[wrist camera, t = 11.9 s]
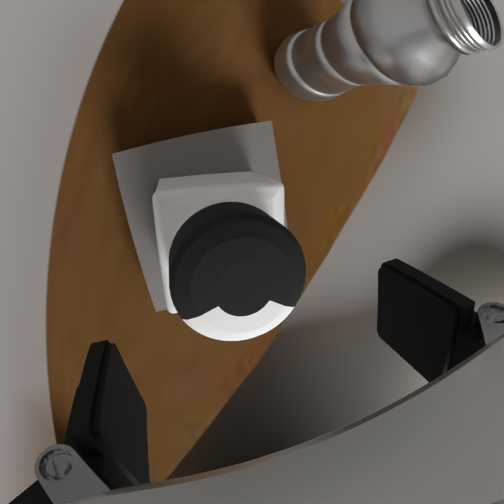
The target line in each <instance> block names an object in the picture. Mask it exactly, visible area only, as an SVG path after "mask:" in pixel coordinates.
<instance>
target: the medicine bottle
mask: <svg viewBox="0 0 504 504" xmlns="http://www.w3.org/2000/svg"><path fill="white" fill-rule="evenodd" d="M152 202H153V212H154V221H155V230H156V238H157V246H158V254H159V261H160V268H161V275H162V282H163V288H164V294H165V300H166V306H167V309H168V311H169V312H170V313H178V314H179V315H180V317H181V318H182V319H183V320H184V321H185V322H186V323H187V324H188V325H189V326H190V327H191V328H193V329H194V330H195V331H197V332H199V333H201V334H202V335H205V336H207V337H210V338H214V339H218V340H225V341H238V340H246V339H249V338H253V337H256V336H259V335H261V334H264V333H266V332H267V331H269V330H271V329H273V328H274V327H275V326H277V325H278V324H279V323H281V322H282V321H283V320H284V319H285V318H286V317H287V316H288V315H289V314H290V312H291V311H292V310H293V308H294V307H295V306H296V304H297V302H298V300H299V298H300V296H301V293H302V291H303V287H304V283H305V276H306V265H305V259H304V255H303V252H302V249H301V247H300V245H299V243H298V241H297V240H296V238H295V237H294V236H293V234H292V233H291V232H290V231H289V230H288V229H287V228H286V227H285V226H284V186H283V184H282V183H281V182H279V181H276V180H274V179H271V178H268V177H265V176H262V175H259V174H256V173H253V172H250V171H247V172H231V173H217V174H204V175H192V176H181V177H171V178H162V179H159V180H158V182H157V185H156V187H155V190H154V193H153V197H152Z"/></svg>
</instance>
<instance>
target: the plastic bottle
mask: <svg viewBox="0 0 504 504" xmlns="http://www.w3.org/2000/svg"><path fill="white" fill-rule="evenodd" d="M502 42H503V27H502V22H501V19H500V16H499V13H498V11H497V9H496V7H495V5H494V3H493V1H492V0H349V1H348V2H347V3H346V4H345V5H344V6H343V7H342V8H341V9H340V10H339V11H338V12H336V13H335V14H334V15H332V16H331V17H330V18H328V19H327V20H326V21H324V22H323V23H320V24H318V25H316V26H314V27H312V28H310V29H305V30H301V31H298V32H296V33H294V34H291V35H289V36H288V37H287V38H285V39H284V40H283V42H282V43H281V44H280V46H279V48H278V49H277V52H276V54H275V58H274V69H275V74H276V76H277V78H278V80H279V82H280V83H281V85H282V86H283V87H284V88H285V89H286V91H288V92H289V93H290V94H292V95H293V96H295V97H297V98H299V99H302V100H306V101H314V102H325V101H328V100H331V99H333V98H335V97H337V96H339V95H341V94H342V93H344V92H345V91H347V90H350V89H353V88H356V87H358V86H365V85H375V84H391V85H406V86H427V85H432V84H433V83H435V82H437V81H439V80H441V79H443V78H444V77H446V76H447V75H448V74H449V73H450V71H451V70H452V68H453V67H454V66H455V64H456V63H457V61H458V59H459V56H460V54H461V53H462V54H465V55H470V54H477V53H479V52H480V51H484V50H493V49H496V48H499V47H500V46H501V45H502Z"/></svg>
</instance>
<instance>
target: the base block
mask: <svg viewBox="0 0 504 504" xmlns="http://www.w3.org/2000/svg"><path fill="white" fill-rule="evenodd" d="M112 157H113V161H114V166H115V170H116V175H117V179H118V183H119V188H120V192H121V196H122V200H123V204H124V208H125V212H126V216H127V219H128V223H129V227H130V230H131V234H132V237H133V241H134V244H135V248H136V251H137V255H138V258H139V261H140V264H141V268H142V271H143V274H144V277H145V280H146V283H147V286H148V289H149V292H150V295H151V298H152V301H153V304H154V307H155V310H156V312H157V311H161V310H165V309H167V306H166V300H165V294H164V288H163V282H162V275H161V268H160V261H159V254H158V246H157V238H156V230H155V221H154V212H153V202H152V197H153V193H154V190H155V187H156V185H157V182H158V180H159V179H162V178H171V177H181V176H192V175H204V174H217V173H231V172H247V171H250V172H253V173H256V174H259V175H262V176H265V177H268V178H271V179H274V180H276V181H279V182H281V178H280V171H279V165H278V158H277V152H276V145H275V139H274V133H273V127H272V121H265V122H258V123H251V124H245V125H239V126H233V127H227V128H221V129H216V130H210V131H205V132H200V133H195V134H190V135H186V136H181V137H177V138H172V139H168V140H164V141H159V142H155V143H151V144H147V145H143V146H139V147H136V148H132V149H128V150H125V151H121V152H117V153H114V154H112ZM284 226H285V227H286V228H287V220H286V213H285V206H284ZM287 229H288V228H287Z"/></svg>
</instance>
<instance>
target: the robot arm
mask: <svg viewBox="0 0 504 504" xmlns="http://www.w3.org/2000/svg"><path fill="white" fill-rule="evenodd" d="M474 306H475V302H474V301H473V300H471V299H469V298H468V297H466V296H464V295H463V294H461V293H459V292H457V291H455V290H454V289H452V288H450V287H448V286H447V285H445V284H443V283H441V282H439V281H437V280H436V279H434V278H432V277H430V276H429V275H426V274H425V273H423V272H421V271H419V270H418V269H416V268H414V267H412V266H410V265H408V264H406V263H404V262H402V261H400V260H399V259H393V260H390V261H387V262H384V263H383V264H382V265H381V268H380V269H379V271H378V317H377V332H378V334H379V336H380V338H381V339H382V340H384V341H385V342H386V343H387V344H388V345H389V346H390V347H391V348H392V349H393V350H395V351H396V352H397V353H398V354H399V355H400V356H401V357H402V358H403V359H404V360H405V361H407V362H408V363H409V364H410V365H411V366H412V367H413V368H414V369H415V370H416V371H417V372H419V373H420V374H421V375H422V376H423V377H424V378H425V379H426V380H427V381H428V382H429V383H428V384H426V385H424V386H423V387H421V388H419V389H417V390H416V391H414V392H412V393H410V394H408V395H407V396H405V397H403V398H401V399H399V400H397V401H396V402H394V403H392V404H390V405H388V406H386V407H384V408H382V409H380V410H378V411H376V412H374V413H372V414H370V415H368V416H366V417H364V418H362V419H360V420H357V421H355V422H353V423H351V424H349V425H347V426H344V427H342V428H340V429H337V430H335V431H332V432H330V433H328V434H325V435H323V436H320V437H318V438H316V439H313V440H311V441H307V442H305V443H302V444H299V445H297V446H294V447H291V448H288V449H286V450H282V451H280V452H277V453H274V454H271V455H267V456H264V457H261V458H258V459H254V460H251V461H248V462H244V463H240V464H237V465H233V466H230V467H225V468H221V469H217V470H213V471H209V472H204V473H200V474H196V475H191V476H186V477H181V478H176V479H171V480H165V481H159V482H153V483H150V477H149V463H148V443H147V410H146V405H145V403H144V400H143V398H142V397H141V395H140V393H139V391H138V389H137V387H136V385H135V383H134V381H133V379H132V377H131V376H130V374H129V372H128V369H127V367H126V365H125V363H124V361H123V359H122V357H121V355H120V353H119V351H118V349H117V347H116V345H115V344H114V343H112V344H110V342H109V341H108V340H105V341H100V342H96V343H92V344H91V345H90V348H89V351H88V355H87V358H86V362H85V365H84V369H83V373H82V376H81V380H80V384H79V386H78V387H77V390H76V393H75V397H74V401H73V405H72V410H71V414H70V418H69V423H68V428H67V432H66V437H65V442H64V444H57V445H53V446H50V447H48V448H46V449H45V450H44V451H43V452H42V453H40V455H39V456H38V458H37V459H36V462H35V466H34V467H35V469H34V470H35V474H36V477H37V479H38V480H37V481H36V482H35V483H34V484H32V485H31V486H30V487H29V488H27V489H26V490H25V491H24V492H22V493H21V494H20V495H19V496H17V497H16V498H15V499H14V500H13V501H11V502H10V503H9V504H504V304H501V303H498V302H488V303H484V304H482V305H481V306H480V307H479V308H478V311H477V313H476V312H475V311H474Z"/></svg>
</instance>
